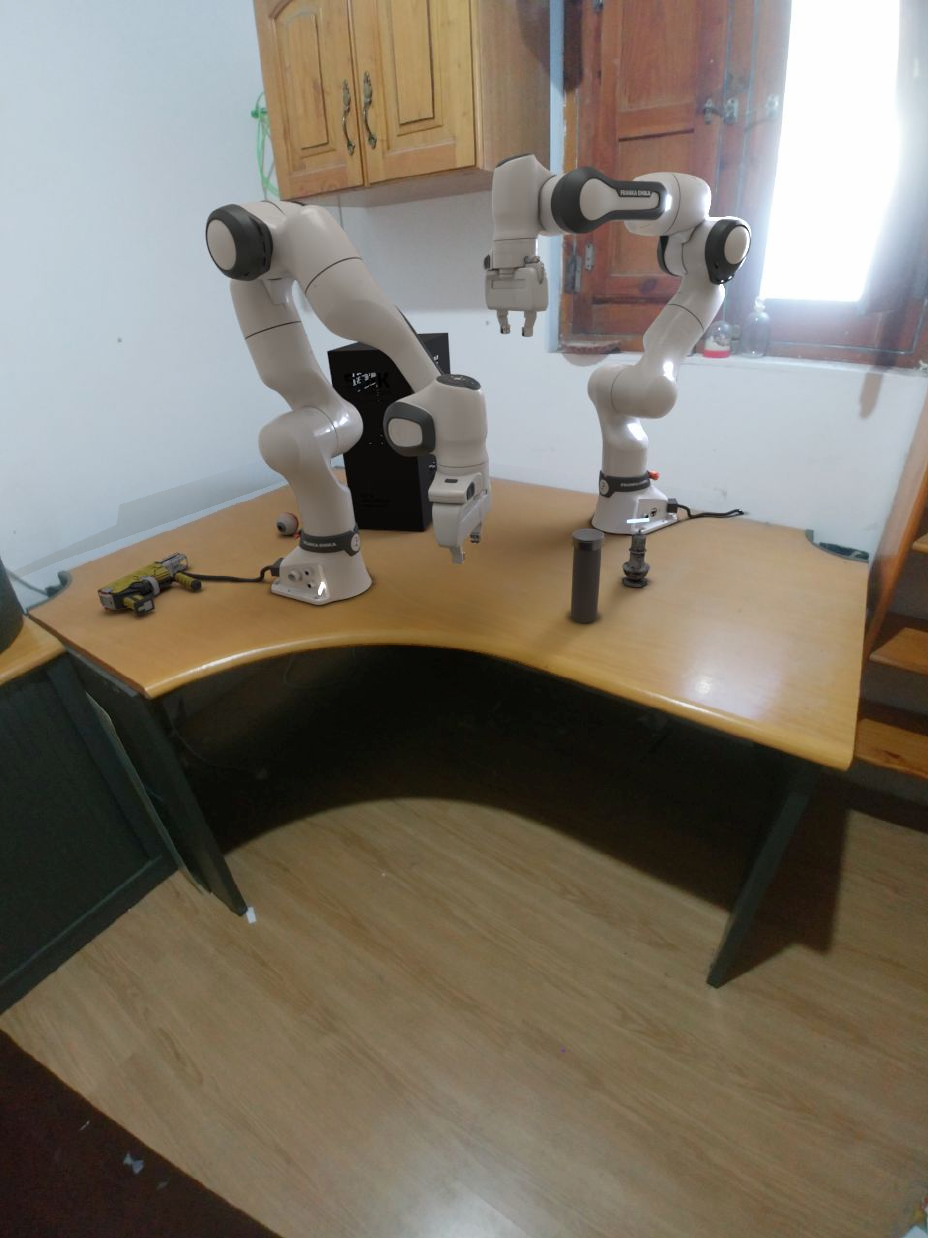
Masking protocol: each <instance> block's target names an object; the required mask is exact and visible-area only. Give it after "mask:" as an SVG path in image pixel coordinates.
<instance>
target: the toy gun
mask: <svg viewBox="0 0 928 1238" xmlns="http://www.w3.org/2000/svg"><path fill="white" fill-rule="evenodd" d="M185 560H186V564H183V563H181V562H182V561H185ZM188 568H189V562H188V556H187V554H186V553H183V552H182V553H180V552H178V551H176V552H175V553H173V554H171V555H168V556H166V557H164V558H162V559H161V560H157V561H154V562H152V563H150V564H148V565H146V566H144V567H142V568H139V569H136V570H135V571H133V572H131V573H129V574H126V575H125V576H123V577H121V578H119V579H116V580H114V581H112V582H110V583H108V584H106V585H104V586H102V587H100V588H98V590H97V594H98V597H99V603H100V604H101V607H102V608H104V610H106V611H107V610H108V611H109V612H110V611H111V612H112V611H113V610H115V611H119V610H126V609H129V608H130V609H132V610H134V612H135V616H136V617H141V616H143V615H145V614H148V613H150V612H152V611H154V610H156V608H155V604H154V599H153V597H155V596H156V595H159V594H160V590H161V589H163V588H166V587H169V586H171V585H173V583H177V584H179V585H181V586H184V587H187V588H188V589H192V591H195V592H196V591H199V590H200V589H201V588H203V587H202V581H201V579H196V578H191V577H189V576H186V575H183V574H181V573H177V571H178V570H181V571H183V570H185V569H188Z"/></svg>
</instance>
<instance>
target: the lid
mask: <svg viewBox="0 0 928 1238" xmlns="http://www.w3.org/2000/svg"><path fill="white" fill-rule="evenodd" d="M571 541H572V542H571V546H572V548H573V547H574V548H576V549H578V550H582V551H595V550H599V549H601V548H602V549H603V547H604V545H605V544H604V543H605V533H604V531H602V530H599V529H597V528H580V529H576V530H574V531H573V532H572V536H571Z"/></svg>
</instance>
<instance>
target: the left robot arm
mask: <svg viewBox="0 0 928 1238" xmlns="http://www.w3.org/2000/svg"><path fill="white" fill-rule="evenodd" d="M204 237H205V244H206V248H207V251H208V253H209V256H210V258H211V260H212V262H213V264H214V265H215V266H216V269H218V270H219V271H220V273H221V274H223V275H224V276H225V277H227V278H229V279H230V280H229V291H230V297H231V301H232V305H233V309H234V313H235V316H236V319H237V322H238V326H239V328H240V331H241V333H242V336H243V339H244V342H245V344H246V346H247V349H248V351H249V354H250V356H251V359H252V361H253V364H254V366H255V369H256V372H257V374H258V377H259V379H260V380H261V382H262V383H263V385H264V386H265V387H267V388H268V389H271V390H273V391H275V392H276V393H278V394H279V396H281V397H282V398H283V399H284V401H285V402H286V403H287V405H288V406H289V408H290V411H287V412H284V413H281V414H278V415H277V416H276V417H274V418H273V419H271V420H270V421H268V422H267V423H266V424H265V425H264V426H263V427H262V428H261V429H260V431H259V433H258V437H257V446H258V450H259V453H260V456H261V458H262V459H263V462H264V463H265V464H266V465H267V466H268V468H270V469H271V470H272V471H274V472H276V473H278V474H280V475H281V476H282V477H283V478H284V479H285V481H286V482H287V483H288V485H289V486H290V488H291V490H292V492H293V494H294V497H295V500H296V503H297V508H298V511H299V515H300V521H301V525H302V527H301V528H300V529H299V530H298V531H296V532H295V533H293V534H292V535H293V537H294V538H293V540H297V539H299V543H298V545H297V546H296V547H294V548H293V549H292V550H291V551H290V552H289V553H288V554H287V555H286V556H285V557H279V558H278V559H277V560H275V562H274V563H273V564H270V565H265V566H264V567H262V568H261V569H260V571H259V572H260V573H259V576H258V577H256V578H243V577H237V576H231V575H211V574H210V575H209V574H208V575H207V574H199V573H197V574H196V573H191V572H187V571H183V570H178V571H177V573H181V574H183V575H186V576H189V577H191V578H193V579H198V580H208V581H209V580H210V581H231V582H238V583H259V582H262V581H264V579H265V575H266V573H267V571H269V572H270V576H271V577H277V578H276V579H275V580H274V581H273V583H272V584H271V588H270V590H271V593H273V594H275V595H279V596H282V597H286V598H290V599H293V600H298V601H301V602H303V603H304V602H305V603H307V604H311V605H316V606H324V605H326V604H329V603H332V602H335V601H342V600H346V599H350V598H353V597H357V596H358V595H360V594H361V595H362V594H363V593H364V592H366V591H367V590H368V589H369V588H370V587H371V586H372V582H373V581H372V578H371V576H370V575H369V572H368V570H367V567H366V564H365V562H364V559H363V554H362V551H361V550H362V549H361V536H360V531H359V528H358V525H357V523H356V522H355V518H354V511H353V504H352V498H351V492H350V489H349V488H348V486H347V483H344V482H343V481H340V480H338V478H337V477H336V475H335V472H334V471H333V468H332V459H334V458H337V457H339V456H341V455H343V453H345V452H347V451H348V450H349V449H350V448H351V447H353V446H354V445H355V444H356V443H357V442H358V440H359V439H360V438H361V435H362V432H363V423H362V419H361V416H360V414H359V412H358V410H357V409H356V408H355V407H354V406H353V405H352V404H351V403H349V402H347V401H346V400H344V399H343V398H342V397H341V396H340V395H339V394H338V393H337V392H336V391H335V389H334V388H333V387H332V383H331V382H330V381H329V379H328V378H327V377H326V375H325V373H324V372H323V370H322V369H321V366H320V365H319V363H318V360H317V358H316V355H315V353H314V350H313V347H312V345H311V342H310V340H309V337H308V334H307V332H306V330H305V327H304V324H303V321H302V318H301V315H300V314H299V311H298V309H297V306H296V303H295V301H294V300H295V299H294V297H293V287H294V283H295V281H296V282H297V284H298V286H299V288H300V290H301V291H302V293H303V295H304V297H305V298H306V300H307V302H308V304H309V306H310V307H311V309H312V311H313V312H314V314H315V316H316V317H317V319H318V320H319V321H320V322H321V323H322V324H323V326H324V327H325V328H326V330H328V331H329V332H330V333H331V334H333V335H335V336H337V337H340V338H342V339H345V340H348V341H354V342H361V343H364V344H367V345H370V346H373V347H375V348H377V349H379V350H381V351H383V352H384V353H385V354H387V355H388V356H389V357H390V358H391V359H392V360H393V361H394V363H395V364H396V366H397V367H398V368H399V370H400V371H401V373H402V374H403V376H404V377H405V379H406V380H407V382H408V383H409V384H410V386H411V387H412V389H413V390H414V392H415V394H412V395H410V396H407V397H405V398H402V399H400V400H398V401H396V402H394V403H392V404H391V405H390V406H389V407H388V408H387V410H386V412H385V415H384V421H383V427H384V433H385V436H386V439H387V441H388V443H389V444H390V446H391V447H392V448H393V449H394V450H395V451H396V452H397V453H399V454H401V455H403V456H408V457H409V456H420V455H426V454H433V455H435V457H436V462H437V471H436V474H435V478H434V480H433V482H432V484H431V486H430V488H429V491H428V496H429V501H432V502H434V503H433V507H432V517H433V520H432V524H433V525H432V526H433V535H434V539H435V542H436V544H437V546H438V547H439V548H443V549H448V550H449V552H450V553H451V556H452V557H451V558H452V563H453V564H454V565H462V564H463V563H464V562H465V560H466V555H465V554H466V553H465V551H463V548H462V547H463V546H464V545H463V544H464V543H463V542H465V540H466V539H467V538H468V537H469V539H470V540H469V541H470V543H471V544H476V545H477V544H479V543H480V542H481V541H482V539H483V537H482V531H483V526H484V522H485V521H484V518H485V517H486V516H487V515H488V514H489V513H490V512H491V510H492V505H493V501H492V500H493V499H492V487H491V480H490V479H491V478H490V457H489V452H488V450H487V449H488V448H487V438H488V432H489V429H488V428H489V427H488V426H489V425H488V413H487V412H488V411H487V402H486V397H485V392H484V389H483V387H482V385H481V383H480V382H479V381H478V380H476V379H475V378H474V377H471V376H469V375H465V374H460V373H459V374H458V373H456V374H455V373H454V374H453V373H451V374H444V373H443V371H442V370H441V368H440V367H439V365H438V362H436V361H435V360H436V359H435V357H434V358H433V356H432V355H431V353H430V352H429V350H428V349H427V347H426V346H425V344H424V343H423V341H422V340H421V338H420V337H419V335H418V334H419V333H418V332H417V331H416V330H415V328H414V327H413V325H412V324H411V322H410V321H409V320H408V318H407V317H406V316H405V315H404V314H403V312H402V311H401V310H400V309H399V308H398V306H397V305H396V304H394V303H393V302H392V301H391V299H390V298H389V297H388V296H387V295H386V293H385V292H384V290H383V289H382V287H381V286H380V285H379V284H378V282H377V281H376V280H375V278H374V276H373V275H372V273H371V271H370V270H369V268H368V267H367V265H366V263H365V262H364V260H363V258H362V256H361V255H360V252H359V251H358V249H357V248H356V246H355V245H354V243H353V241H352V240H351V238H350V237H349V236H348V234H347V233H346V231H345V230H344V229H343V227H342V226H341V224H340V223H339V222H338V221H337V220H336V219H335V217H334V216H333V215H332V213H330V212H329V211H328V210H327V209H326V208H324V207H323V206H320V205H317V204H308V203H305V202H302V201H299V200H293V201H283V200H273V199H271V200H268V199H267V200H266V199H264V200H260V201H254V202H246V203H242V204H235V203H229V204H226V205H223V206H219V207H218V208H215V209H214V210H212V211H211V212H210V214H209V215H208V217H207V219H206V224H205V235H204ZM177 573H176V574H177Z"/></svg>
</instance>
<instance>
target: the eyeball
mask: <svg viewBox="0 0 928 1238" xmlns="http://www.w3.org/2000/svg"><path fill="white" fill-rule="evenodd" d="M299 525H300V522H299V519H298V517H297V516H296V515H295V514H294V513H292V512H287V511H286V512H282V513H280V514H279V515H278V516H277V517H276V520H275V527H276V529H277V530H278V531H279V532H280V533H281V534H282V535H285V536H286V535H287V536H289V535H294V534H295V533H297V532H298V529H299Z"/></svg>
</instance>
